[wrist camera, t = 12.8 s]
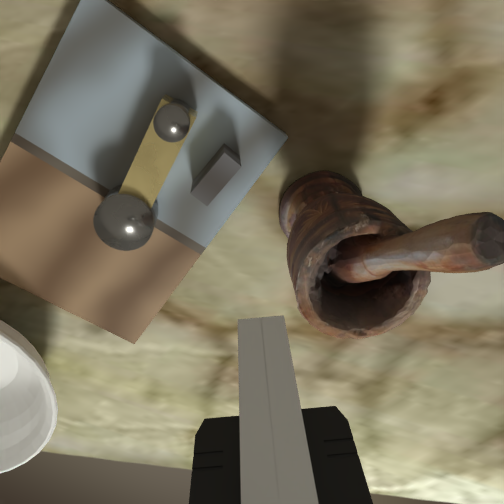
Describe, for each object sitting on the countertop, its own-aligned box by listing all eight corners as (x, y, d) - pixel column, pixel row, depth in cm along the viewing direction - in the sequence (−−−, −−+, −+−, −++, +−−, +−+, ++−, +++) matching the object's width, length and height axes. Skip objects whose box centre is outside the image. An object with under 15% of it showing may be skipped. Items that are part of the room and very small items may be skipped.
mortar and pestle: (288, 117, 35) (358, 206, 17) (391, 132, 36) (555, 229, 19) (266, 247, 40) (302, 418, 23) (356, 256, 41) (459, 427, 24)
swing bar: (145, 242, 37) (138, 262, 34) (95, 219, 36) (82, 238, 33) (209, 115, 33) (208, 124, 30) (155, 84, 32) (148, 91, 29)
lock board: (285, 133, 36) (293, 146, 32) (137, 333, 44) (128, 365, 40) (93, -11, 31) (73, -18, 26) (-37, 246, 38) (-67, 272, 34)
